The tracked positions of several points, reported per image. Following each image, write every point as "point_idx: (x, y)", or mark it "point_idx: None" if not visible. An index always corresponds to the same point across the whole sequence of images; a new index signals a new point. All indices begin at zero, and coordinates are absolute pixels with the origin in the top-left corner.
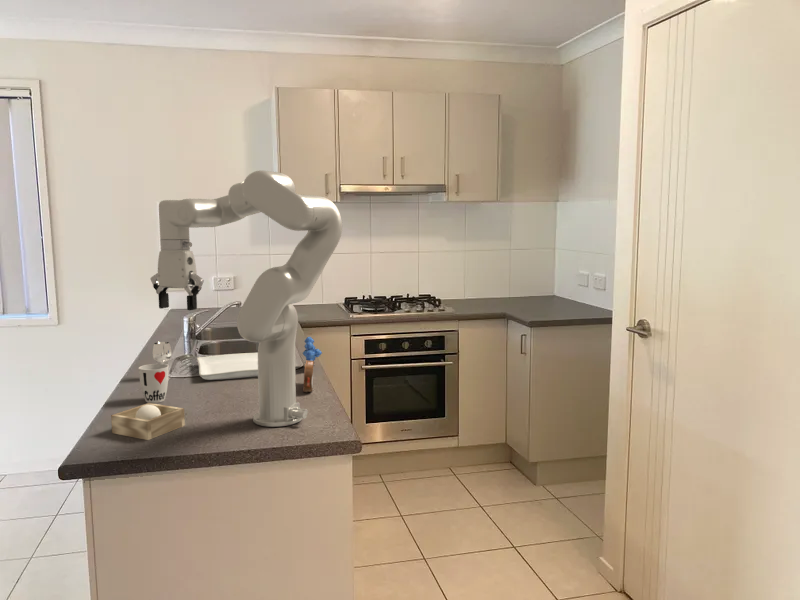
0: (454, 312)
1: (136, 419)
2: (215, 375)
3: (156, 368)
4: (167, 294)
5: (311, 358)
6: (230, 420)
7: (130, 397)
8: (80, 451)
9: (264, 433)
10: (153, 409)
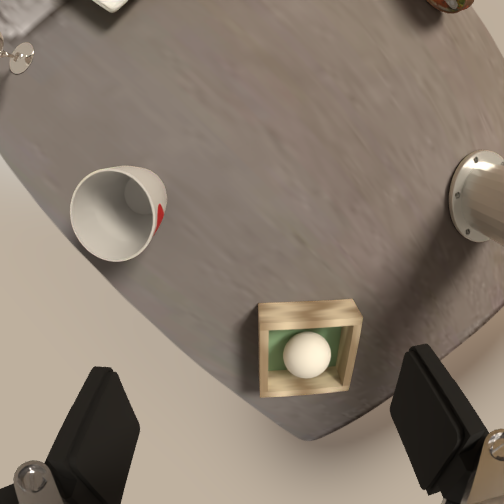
0: None
1: (322, 392)
2: None
3: (91, 180)
4: (82, 465)
5: None
6: (413, 234)
7: None
8: (283, 424)
9: (485, 264)
10: (326, 365)
